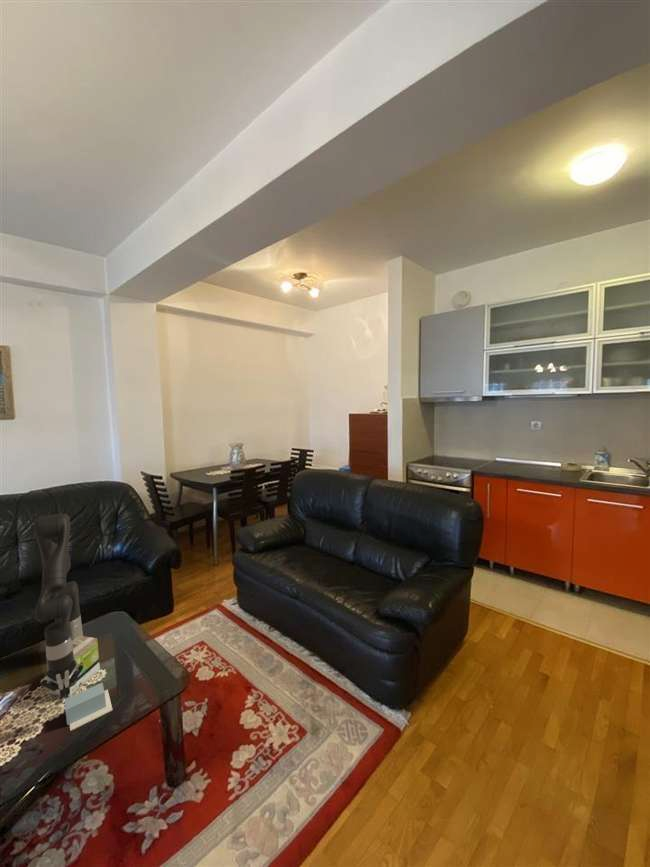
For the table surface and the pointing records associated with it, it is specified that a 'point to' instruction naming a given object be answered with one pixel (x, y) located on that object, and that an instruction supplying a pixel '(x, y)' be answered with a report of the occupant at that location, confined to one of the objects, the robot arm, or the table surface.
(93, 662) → the tea box
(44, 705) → the table surface
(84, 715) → the pale blue-gray rectangular block
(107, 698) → the felt mat
